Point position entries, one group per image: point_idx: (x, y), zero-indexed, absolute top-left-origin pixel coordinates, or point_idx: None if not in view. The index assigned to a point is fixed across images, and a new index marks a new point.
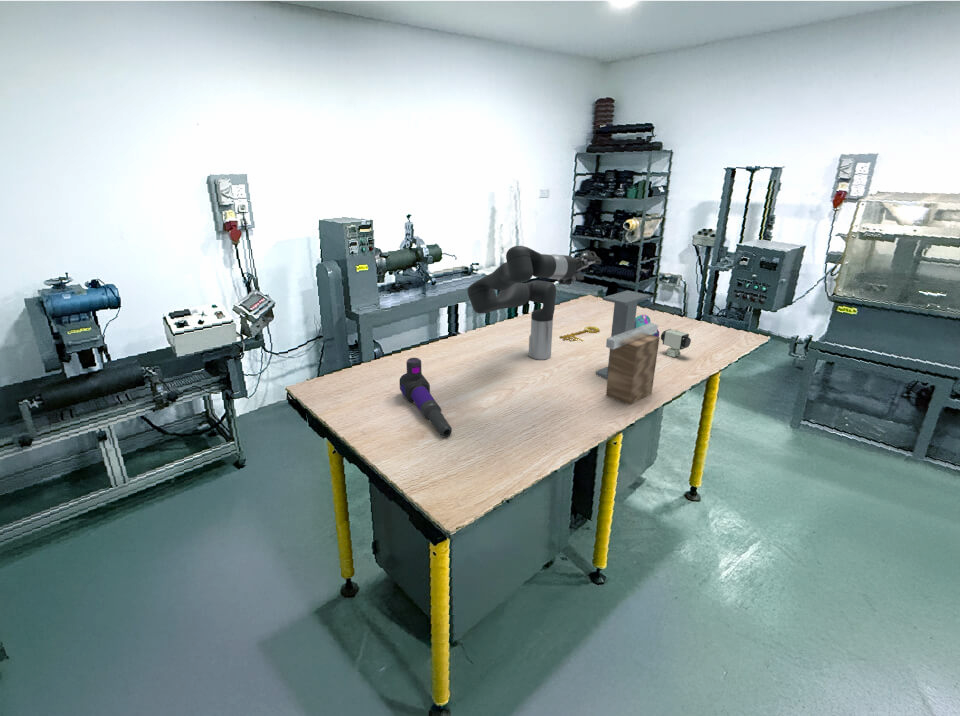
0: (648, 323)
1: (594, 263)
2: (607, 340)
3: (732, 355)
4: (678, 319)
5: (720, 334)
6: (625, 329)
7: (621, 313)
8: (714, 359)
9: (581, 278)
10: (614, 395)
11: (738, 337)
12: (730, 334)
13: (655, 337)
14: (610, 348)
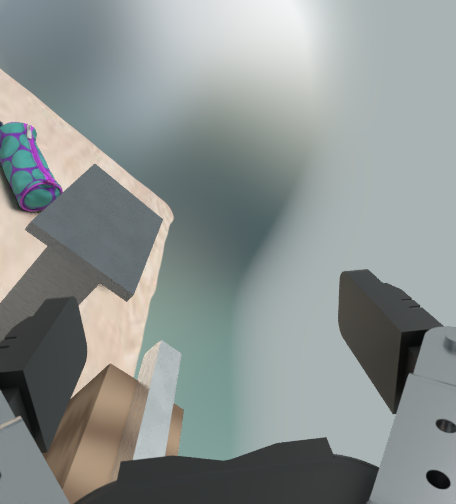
0: (159, 347)
1: (391, 398)
2: None
3: (160, 264)
4: (66, 128)
5: (131, 193)
6: None
7: (72, 276)
8: (144, 279)
9: (74, 379)
10: None
11: (152, 206)
12: (141, 196)
13: (176, 414)
14: None
